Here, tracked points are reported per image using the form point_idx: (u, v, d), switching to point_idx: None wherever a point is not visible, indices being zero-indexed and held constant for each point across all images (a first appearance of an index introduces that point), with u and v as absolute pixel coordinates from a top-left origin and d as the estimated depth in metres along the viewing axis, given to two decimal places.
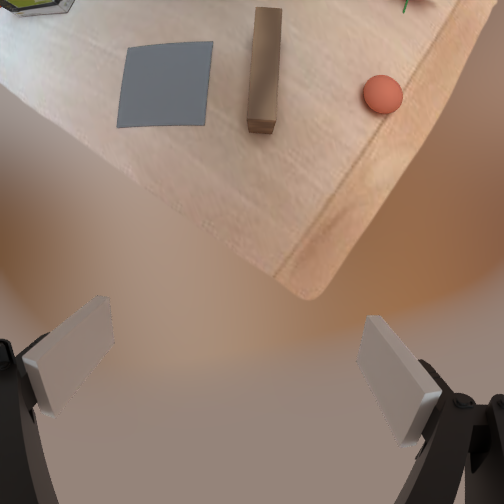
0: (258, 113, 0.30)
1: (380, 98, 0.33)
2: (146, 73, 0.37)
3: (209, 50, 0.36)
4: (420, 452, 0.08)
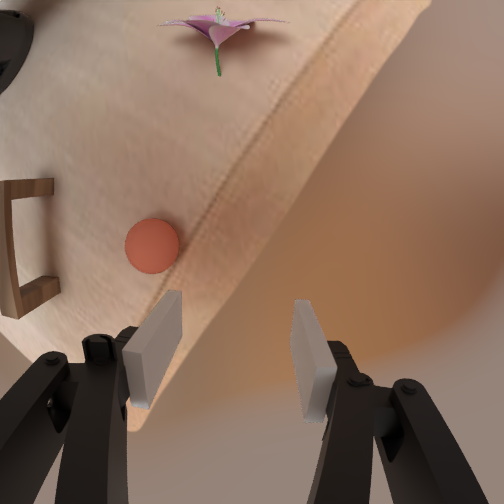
0: (6, 311, 0.25)
1: (133, 264, 0.28)
2: None
3: None
4: (325, 434, 0.09)
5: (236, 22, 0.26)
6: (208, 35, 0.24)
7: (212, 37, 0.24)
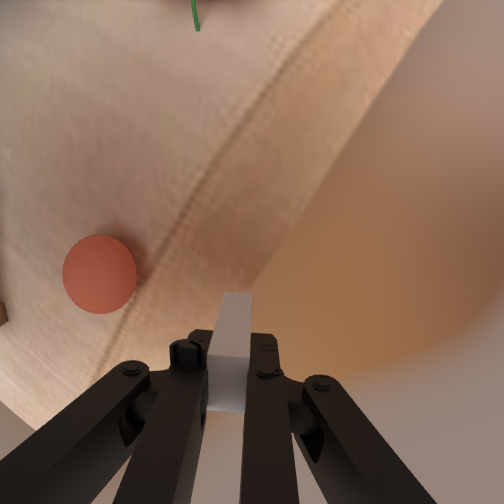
0: None
1: (73, 301, 0.18)
2: None
3: None
4: None
5: None
6: None
7: None
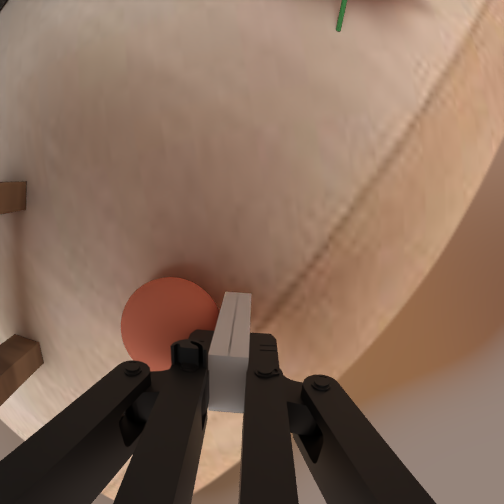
0: None
1: None
2: None
3: None
4: None
5: None
6: None
7: None
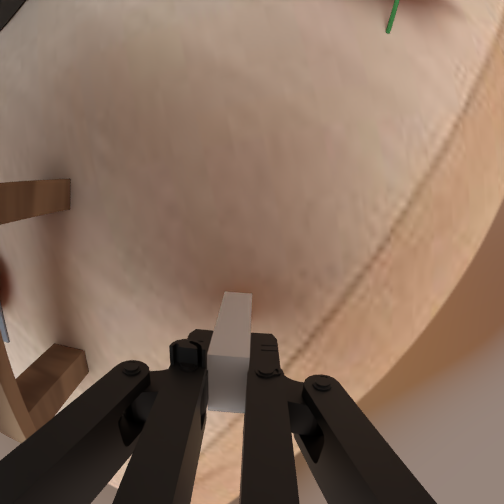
0: (6, 430, 0.11)
1: None
2: None
3: None
4: None
5: None
6: None
7: None
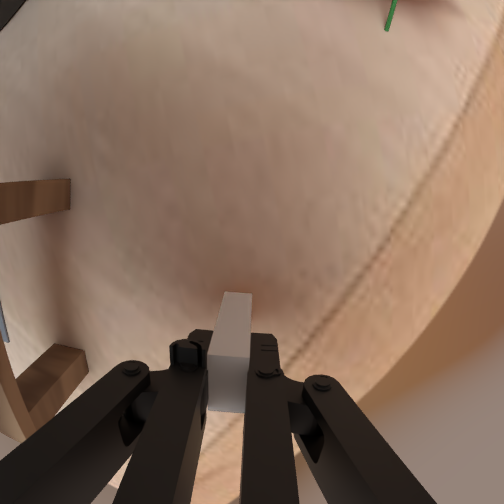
0: (6, 430, 0.11)
1: None
2: None
3: None
4: None
5: None
6: None
7: None
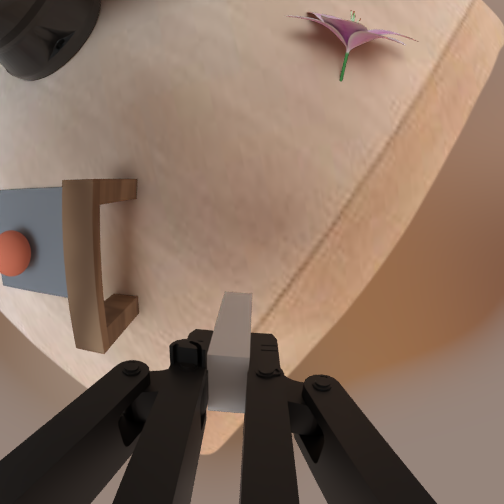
0: (85, 344, 0.23)
1: (20, 267, 0.28)
2: (13, 227, 0.30)
3: None
4: None
5: None
6: (343, 38, 0.22)
7: (349, 41, 0.22)
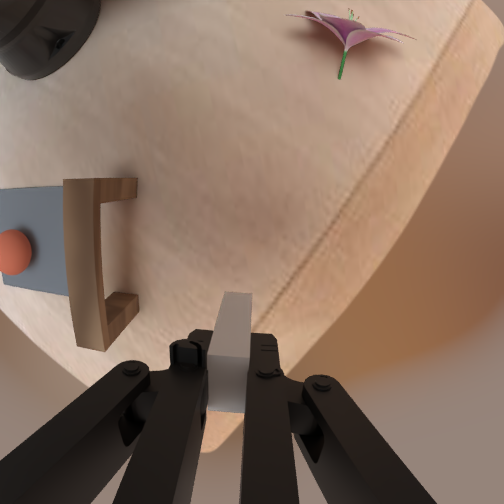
0: (86, 342, 0.23)
1: (21, 265, 0.28)
2: (14, 226, 0.30)
3: None
4: None
5: None
6: (341, 36, 0.22)
7: (348, 39, 0.22)
